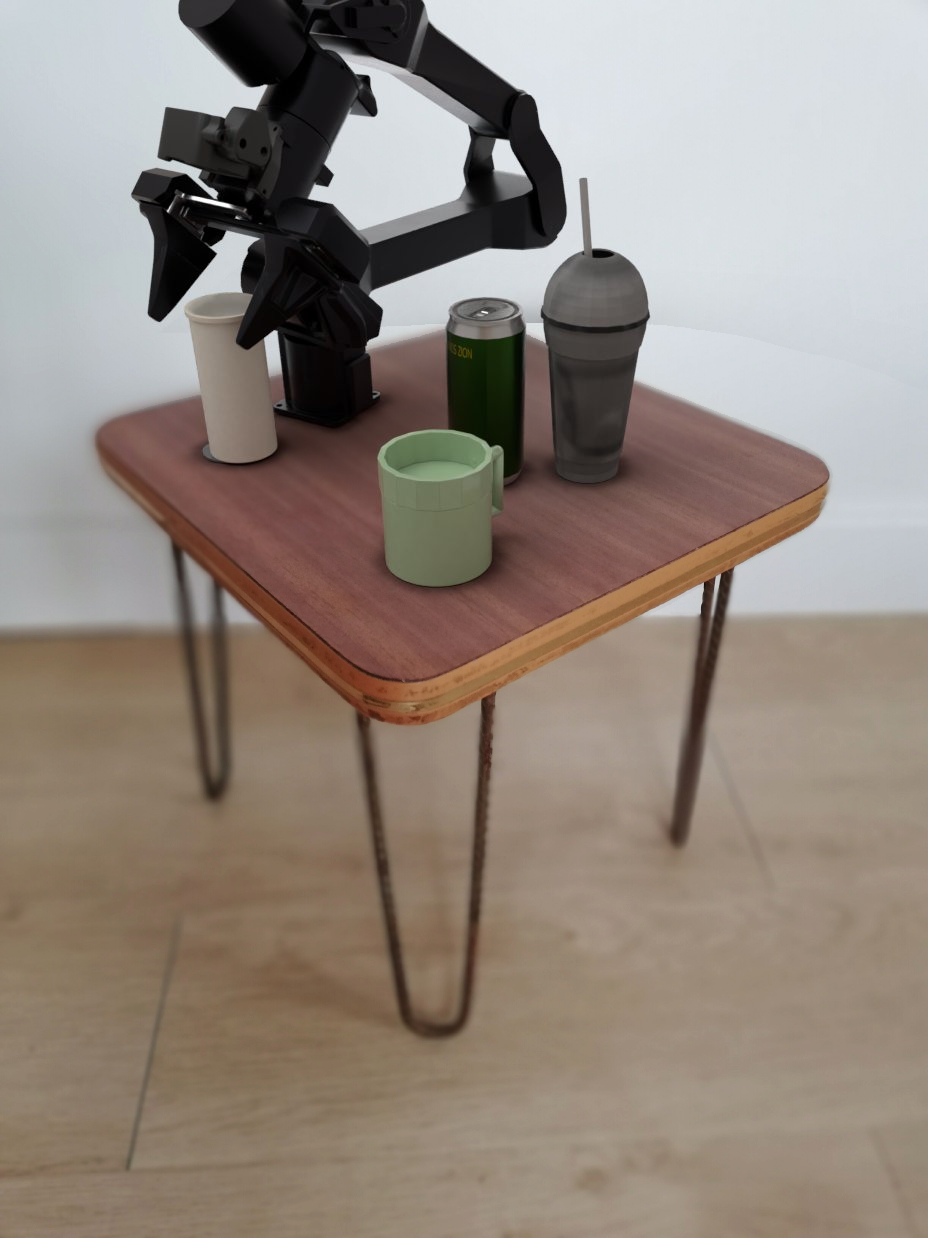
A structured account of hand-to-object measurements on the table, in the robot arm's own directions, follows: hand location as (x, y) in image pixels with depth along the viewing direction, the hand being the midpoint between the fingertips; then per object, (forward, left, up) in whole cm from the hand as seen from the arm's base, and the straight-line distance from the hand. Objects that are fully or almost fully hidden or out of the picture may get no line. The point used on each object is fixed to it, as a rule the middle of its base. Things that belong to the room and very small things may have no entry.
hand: (196, 332), depth 75 cm
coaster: (0, +2, -10) cm, 10 cm away
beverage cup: (+25, +12, -10) cm, 29 cm away
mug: (+22, -4, -10) cm, 24 cm away
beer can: (+19, +8, -10) cm, 23 cm away
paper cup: (+1, +2, -10) cm, 10 cm away
